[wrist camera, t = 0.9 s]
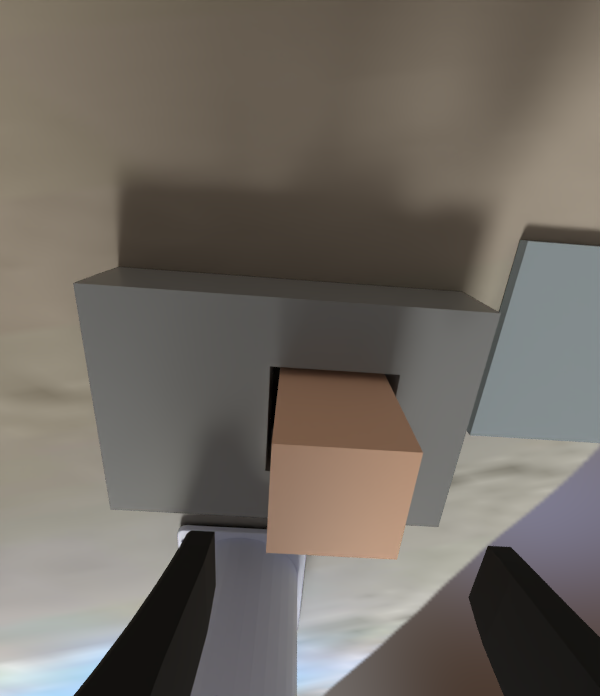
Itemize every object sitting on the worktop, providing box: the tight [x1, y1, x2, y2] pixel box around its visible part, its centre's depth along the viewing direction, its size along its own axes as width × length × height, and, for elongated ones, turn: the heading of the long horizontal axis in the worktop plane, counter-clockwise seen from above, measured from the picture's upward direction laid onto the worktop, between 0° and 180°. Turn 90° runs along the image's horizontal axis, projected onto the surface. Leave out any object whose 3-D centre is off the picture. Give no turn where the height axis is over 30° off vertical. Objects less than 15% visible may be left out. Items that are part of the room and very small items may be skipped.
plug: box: [266, 367, 423, 559], centre depth 15 cm, size 4×4×8 cm
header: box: [73, 267, 501, 527], centre depth 17 cm, size 11×16×4 cm
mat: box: [467, 240, 600, 443], centre depth 18 cm, size 10×8×1 cm
